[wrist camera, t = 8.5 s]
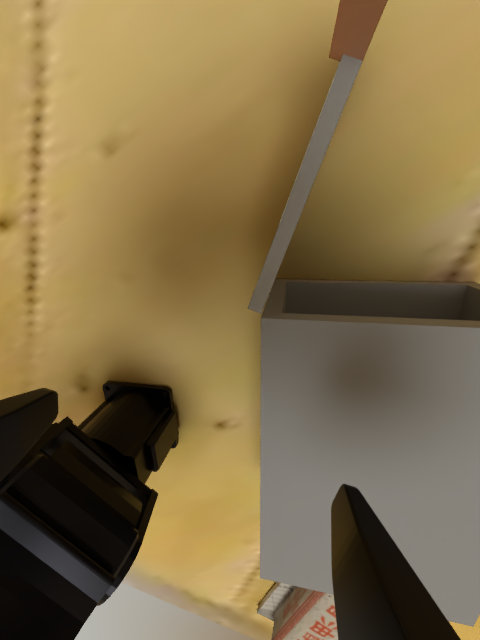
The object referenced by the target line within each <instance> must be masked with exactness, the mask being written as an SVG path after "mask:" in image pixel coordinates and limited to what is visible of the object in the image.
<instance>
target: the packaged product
mask: <svg viewBox="0 0 480 640" xmlns="http://www.w3.org/2000/svg"><path fill="white" fill-rule="evenodd" d="M257 614H260V615H262V616H264V617H267V618H269V619H270V620H272V621H274V627H273V633H272V640H338V633H337V623H336V613H335V604H334V595H332V594H328V593H324V592H319V591H315V590H310V589H306V588H302V587H297V586H293V585H288V584H284V583H280V582H276V584H275V585H274V586H273V587H272V588H271V590H270V591H269V592H268V594H267V595H266V596H265V597H264V599H263V600H262V601H261V603H260V604H259V606H258V608H257Z"/></svg>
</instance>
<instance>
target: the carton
mask: <svg viewBox="0 0 480 640" xmlns="http://www.w3.org/2000/svg"><path fill="white" fill-rule="evenodd" d="M342 484H348V485H351V486H354V487H356V488H358V489H359V490H360V492H361V493H362V495H363V496H364V498H365V499H366V501H367V502H368V504H369V505H370V507H371V508H372V509H373V511H374V512H375V514H376V515H377V517H378V518H379V520H380V521H381V523H382V524H383V526H384V527H385V529H386V530H387V532H388V533H389V535H390V536H391V537H392V539H393V540H394V542H395V543H396V545H397V546H398V548H399V549H400V551H401V552H402V554H403V555H404V557H405V558H406V560H407V561H408V563H409V564H410V566H411V567H412V568H413V570H414V571H415V573H416V574H417V576H418V577H419V579H420V580H421V582H422V583H423V585H424V586H425V588H426V589H427V591H428V592H429V594H430V595H431V596H432V598H433V599H434V601H435V602H436V604H437V605H438V607H439V608H440V610H441V611H442V613H443V614H444V616H445V617H446V619H447V620H448V621H451V622H455V623H460V624H464V625H469V626H474V624H475V622H476V620H477V618H478V616H479V614H480V284H478V283H475V282H422V281H362V280H301V279H275V281H274V284H273V287H272V290H271V292H270V295H269V298H268V301H267V303H266V306H265V309H264V312H263V314H262V317H261V487H260V578H262V579H266V580H271V581H275V582H280V583H284V584H288V585H293V586H297V587H302V588H306V589H310V590H315V591H319V592H324V593H328V594H332V595H334V594H333V583H332V565H331V506H332V502H333V500H334V498H335V496H336V494H337V492H338V490H339V488H340V486H341V485H342Z"/></svg>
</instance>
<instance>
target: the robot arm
mask: <svg viewBox="0 0 480 640" xmlns="http://www.w3.org/2000/svg"><path fill="white" fill-rule="evenodd" d="M108 386H109V387H110V388H109V387H108ZM103 391H104V396H105V401H104V402H103V403H102V404H101V405H100V406H99V407H98V408H97V409H96V410H95V411H94V412H93V413H92V414H91V415H90V416H89V417H87V418H86V419H85V420H84V421H83V422H82V423H81V424H80V425H79V426H78V427H77V426H76V425H74V424H73V423H72V422H73V421H72V420H71V419H70V418H69V417H66V418H65V419H63V420H62V421H61V422H60V423H54V424H52V423H53V421H54V420H55V419H56V417H57V415H58V394H57V392H56V391H53V390H50V389H47V388H41V389H37V390H34V391H30V392H27V393H23V394H20V395H16V396H13V397H10V398H6V399H3V400H0V640H74V639H75V637H76V636H77V634H78V633H79V631H80V629H81V628H82V626H83V625H84V623H85V622H86V620H87V618H88V617H89V616H90V614H91V613H92V611H93V610H94V608H95V607H96V606H99V605H101V604H102V603H104V602H105V601H106V600H107V599H108V598H109V597H110V596H111V594H112V593H113V592H114V591H115V590H116V588H117V587H118V586H119V585H120V583H121V582H122V580H123V579H124V577H125V576H126V574H127V573H128V571H129V569H130V567H131V566H132V564H133V562H134V560H135V558H136V556H137V554H138V552H139V549H140V547H141V544H142V541H143V538H144V535H145V532H146V529H147V526H148V523H149V520H150V517H151V514H152V511H153V508H154V505H155V502H156V499H157V496H158V493H157V492H156V491H155V490H153V489H150V488H149V487H148V486H147V485H145V483H146V481H147V479H148V478H149V476H150V474H151V472H152V471H153V472H156V471H158V470H159V469H160V467H161V465H162V463H163V461H164V459H165V458H166V456H167V454H168V452H169V450H170V449H171V448H175V447H176V446H177V444H178V434H179V433H178V425H177V417H176V412H175V410H174V406H173V398H172V392H171V390H170V388H168V387H164V386H153V385H143V384H133V383H123V382H113V381H107V382H106V383H105V384H104V385H103ZM164 392H166V393H167V394H165V393H164ZM331 565H332V583H333V594H334V604H335V613H336V623H337V633H338V640H461V639H460V638H459V636H458V635H457V633H456V632H455V630H454V629H453V627H452V626H451V625H450V623H449V622H448V620H447V619H446V617H445V616H444V614H443V613H442V611H441V610H440V608H439V607H438V605H437V604H436V602H435V601H434V599H433V598H432V596H431V595H430V594H429V592H428V591H427V589H426V588H425V586H424V585H423V583H422V582H421V580H420V579H419V577H418V576H417V574H416V573H415V571H414V570H413V568H412V567H411V566H410V564H409V563H408V561H407V560H406V558H405V557H404V555H403V554H402V552H401V551H400V549H399V548H398V546H397V545H396V543H395V542H394V540H393V539H392V537H391V536H390V535H389V533H388V532H387V530H386V529H385V527H384V526H383V524H382V523H381V521H380V520H379V518H378V517H377V515H376V514H375V512H374V511H373V509H372V508H371V507H370V505H369V504H368V502H367V501H366V499H365V498H364V496H363V495H362V493H361V492H360V490H359V489H358V488H356V487H354V486H351V485H348V484H342V485H341V486H340V488H339V490H338V492H337V494H336V496H335V498H334V500H333V502H332V506H331Z"/></svg>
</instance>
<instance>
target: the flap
mask: <svg viewBox="0 0 480 640" xmlns="http://www.w3.org/2000/svg"><path fill="white" fill-rule="evenodd" d="M387 1H388V0H340V3H339V9H338V14H337V19H336V24H335V29H334V34H333V39H332V44H331V49H330V54H329V58H332V59H335V60H338V61H340V62H339V65H338V67H337V70H336V73H335V75H334V78H333V81H332V83H331V86H330V89H329V91H328V94H327V97H326V99H325V102H324V105H323V107H322V110H321V113H320V115H319V118H318V121H317V123H316V126H315V129H314V131H313V134H312V137H311V139H310V142H309V145H308V147H307V150H306V153H305V155H304V158H303V161H302V163H301V166H300V169H299V171H298V174H297V177H296V179H295V182H294V185H293V187H292V190H291V193H290V195H289V198H288V201H287V203H286V206H285V209H284V211H283V214H282V217H281V219H280V222H279V223H280V224H279V226H278V229H277V232H276V234H275V237H274V240H273V242H272V245H271V248H270V250H269V253H268V256H267V258H266V261H265V264H264V266H263V269H262V272H261V274H260V277H259V280H258V282H257V285H256V288H255V290H254V293H253V295H252V298H251V301H250V303H249V306H248V309H250V310H253V311H255V312H258V313H260V314H261V313H262V310H263V308H264V305H265V303H266V300H267V298H268V295H269V293H270V290H271V288H272V285H273V283H274V280H275V278H276V275H277V273H278V270H279V268H280V265H281V263H282V260H283V258H284V255H285V253H286V250H287V248H288V245H289V243H290V240H291V238H292V235H293V233H294V230H295V228H296V225H297V223H298V221H299V218H300V216H301V213H302V211H303V208H304V206H305V203H306V201H307V198H308V196H309V193H310V191H311V188H312V186H313V183H314V181H315V178H316V176H317V173H318V171H319V168H320V166H321V163H322V161H323V158H324V156H325V153H326V151H327V148H328V146H329V143H330V141H331V138H332V136H333V133H334V131H335V128H336V126H337V123H338V121H339V118H340V116H341V113H342V111H343V108H344V106H345V103H346V101H347V98H348V96H349V94H350V91H351V89H352V86H353V84H354V81H355V79H356V76H357V74H358V71H359V69H360V66H361V64H362V61H363V59H364V56H365V54H366V51H367V49H368V47H369V44H370V42H371V39H372V37H373V35H374V32H375V30H376V27H377V25H378V22H379V20H380V18H381V15H382V13H383V10H384V8H385V6H386V3H387Z"/></svg>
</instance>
